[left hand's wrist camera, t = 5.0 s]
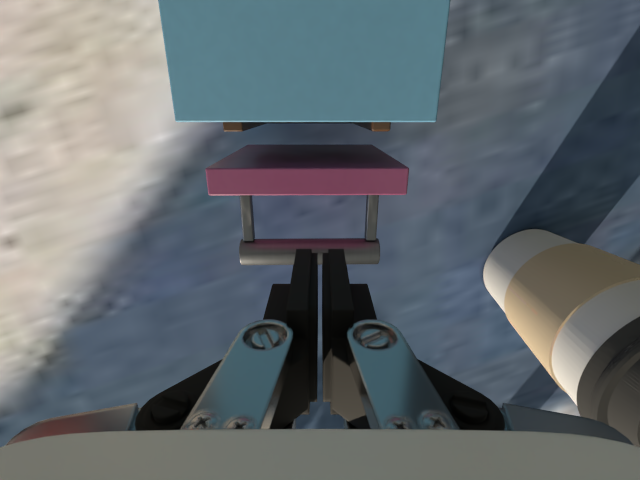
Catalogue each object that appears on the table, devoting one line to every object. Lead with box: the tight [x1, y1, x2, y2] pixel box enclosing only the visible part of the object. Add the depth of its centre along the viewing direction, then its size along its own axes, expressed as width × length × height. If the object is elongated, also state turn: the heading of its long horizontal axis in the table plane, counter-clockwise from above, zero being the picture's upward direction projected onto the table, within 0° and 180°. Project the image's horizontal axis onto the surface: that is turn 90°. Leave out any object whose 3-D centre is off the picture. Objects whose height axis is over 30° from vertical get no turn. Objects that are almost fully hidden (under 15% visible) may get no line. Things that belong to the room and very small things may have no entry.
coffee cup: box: [483, 229, 640, 447], centre depth 21 cm, size 9×9×15 cm
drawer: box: [206, 122, 409, 265], centre depth 18 cm, size 22×9×10 cm, turn 0°
